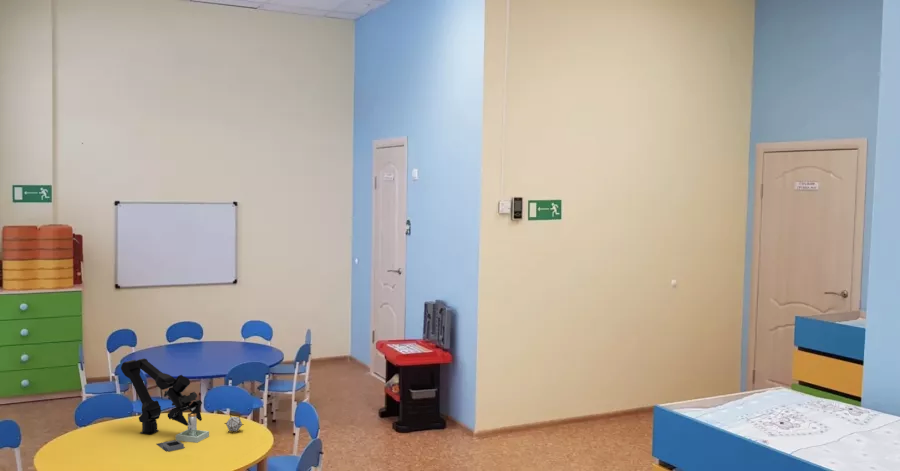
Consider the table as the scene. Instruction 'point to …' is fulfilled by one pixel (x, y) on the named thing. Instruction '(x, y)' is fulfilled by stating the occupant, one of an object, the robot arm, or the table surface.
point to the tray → (184, 436)
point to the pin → (192, 424)
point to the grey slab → (171, 445)
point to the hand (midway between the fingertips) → (194, 422)
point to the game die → (234, 423)
